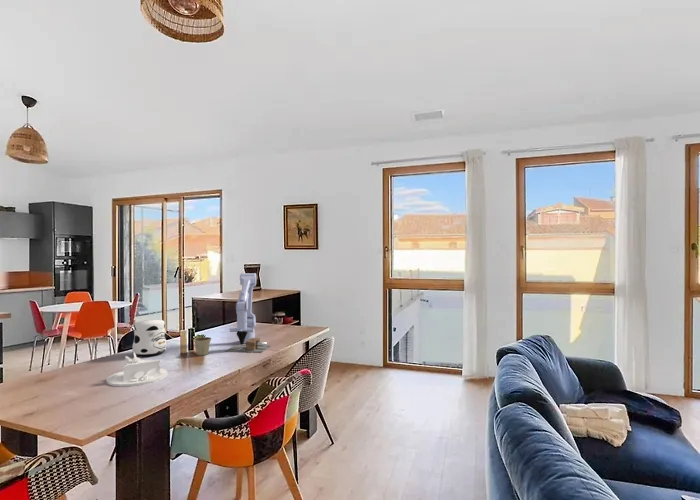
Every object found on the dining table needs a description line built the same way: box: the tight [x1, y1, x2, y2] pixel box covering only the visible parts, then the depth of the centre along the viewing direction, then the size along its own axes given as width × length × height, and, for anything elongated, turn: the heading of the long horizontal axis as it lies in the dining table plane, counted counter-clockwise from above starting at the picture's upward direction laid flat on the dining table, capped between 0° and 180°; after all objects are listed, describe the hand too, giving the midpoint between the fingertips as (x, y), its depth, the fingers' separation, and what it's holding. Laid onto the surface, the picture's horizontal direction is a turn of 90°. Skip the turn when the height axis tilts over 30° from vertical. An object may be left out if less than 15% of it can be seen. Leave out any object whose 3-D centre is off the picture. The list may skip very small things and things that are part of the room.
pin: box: [256, 341, 268, 346], centre depth 241 cm, size 4×12×4 cm, turn 83°
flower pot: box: [193, 336, 212, 356], centre depth 230 cm, size 9×9×9 cm
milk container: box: [132, 319, 168, 357], centre depth 230 cm, size 17×17×18 cm
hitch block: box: [224, 337, 271, 354], centre depth 242 cm, size 16×22×6 cm
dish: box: [106, 351, 169, 388], centre depth 187 cm, size 25×25×11 cm
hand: (242, 344), depth 243 cm, fingers closed
